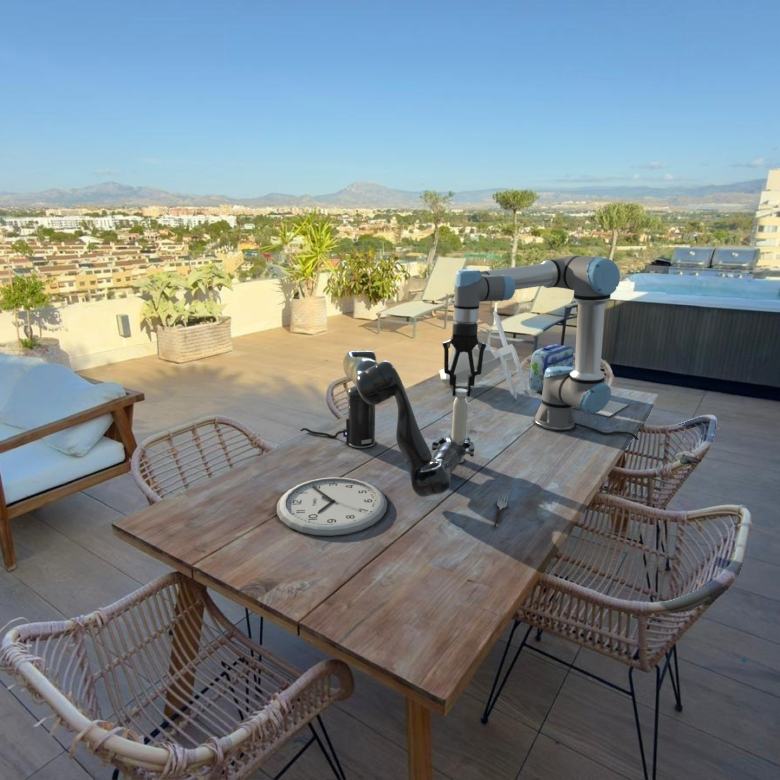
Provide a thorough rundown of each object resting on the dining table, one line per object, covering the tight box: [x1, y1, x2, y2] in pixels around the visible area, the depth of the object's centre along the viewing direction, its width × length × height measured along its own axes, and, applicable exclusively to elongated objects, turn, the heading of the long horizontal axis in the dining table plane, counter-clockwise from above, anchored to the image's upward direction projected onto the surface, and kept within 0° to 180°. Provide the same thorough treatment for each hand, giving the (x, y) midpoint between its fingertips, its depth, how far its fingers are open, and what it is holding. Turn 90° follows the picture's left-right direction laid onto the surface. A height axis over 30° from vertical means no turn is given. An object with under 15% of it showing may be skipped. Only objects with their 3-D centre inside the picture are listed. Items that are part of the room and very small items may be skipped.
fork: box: [493, 493, 509, 528], centre depth 139 cm, size 3×16×2 cm, turn 160°
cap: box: [454, 388, 468, 398], centre depth 165 cm, size 4×4×2 cm
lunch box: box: [528, 344, 574, 393], centre depth 247 cm, size 26×11×21 cm, turn 134°
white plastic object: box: [438, 310, 531, 400], centre depth 245 cm, size 37×45×31 cm
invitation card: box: [573, 399, 629, 418], centre depth 226 cm, size 21×1×15 cm
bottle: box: [451, 396, 469, 464], centre depth 169 cm, size 4×4×24 cm
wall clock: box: [276, 476, 388, 537], centre depth 142 cm, size 30×2×30 cm
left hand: (460, 438), depth 172 cm, fingers closed on bottle, 4 cm apart
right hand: (461, 395), depth 165 cm, fingers closed on cap, 4 cm apart
